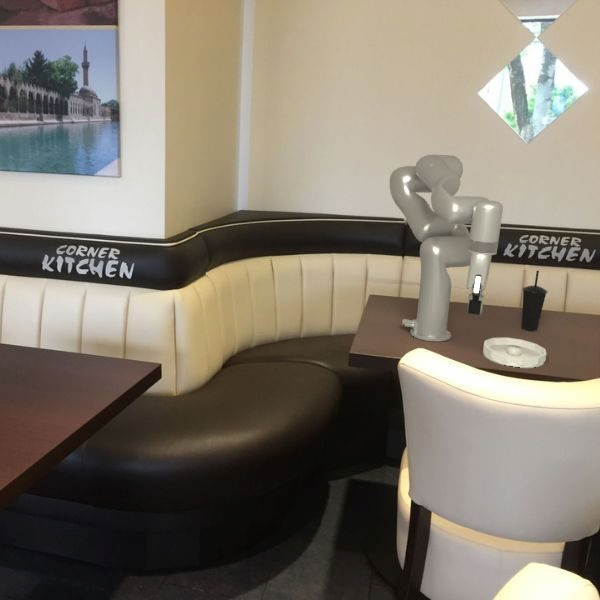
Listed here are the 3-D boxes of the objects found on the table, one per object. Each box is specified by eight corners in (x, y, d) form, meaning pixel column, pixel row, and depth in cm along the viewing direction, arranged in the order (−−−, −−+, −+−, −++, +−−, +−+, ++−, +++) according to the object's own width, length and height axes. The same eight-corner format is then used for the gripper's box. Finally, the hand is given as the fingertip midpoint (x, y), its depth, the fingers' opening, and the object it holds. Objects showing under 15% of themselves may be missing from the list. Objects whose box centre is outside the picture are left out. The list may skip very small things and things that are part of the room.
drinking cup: (520, 323, 206) (529, 267, 200) (543, 328, 202) (552, 270, 196) (514, 329, 200) (522, 270, 194) (537, 334, 196) (547, 274, 190)
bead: (466, 313, 166) (468, 296, 164) (467, 309, 169) (469, 292, 168) (481, 315, 164) (483, 298, 163) (481, 311, 168) (484, 294, 167)
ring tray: (481, 362, 169) (482, 352, 168) (484, 343, 184) (485, 334, 183) (545, 372, 164) (547, 361, 163) (543, 352, 179) (544, 342, 178)
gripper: (470, 240, 170) (462, 302, 175) (466, 251, 155) (457, 318, 160) (498, 243, 168) (489, 305, 173) (496, 254, 153) (486, 322, 158)
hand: (474, 310), depth 167 cm, fingers closed on bead, 4 cm apart
